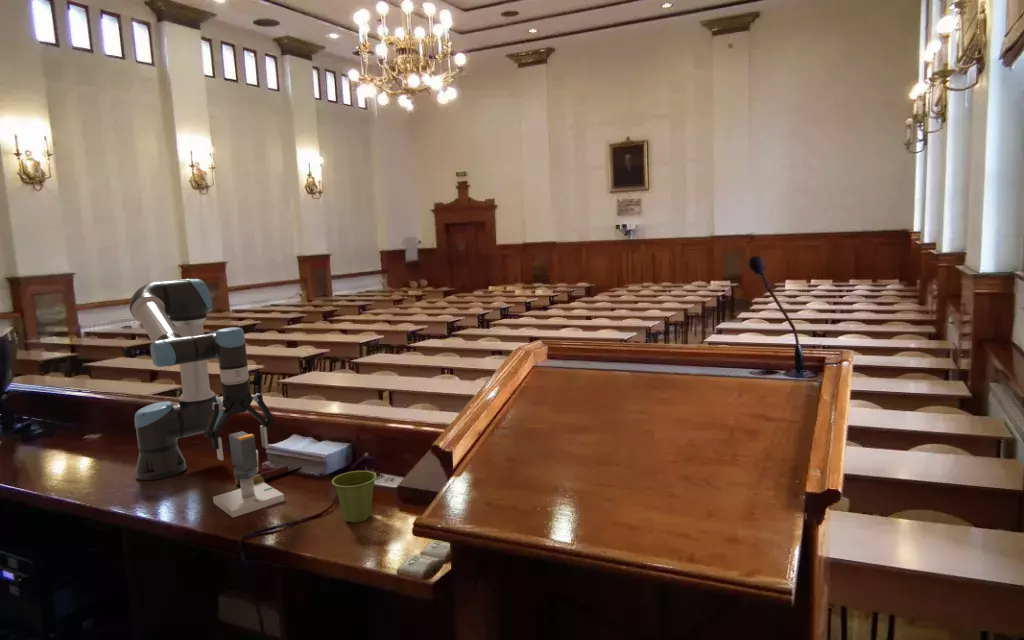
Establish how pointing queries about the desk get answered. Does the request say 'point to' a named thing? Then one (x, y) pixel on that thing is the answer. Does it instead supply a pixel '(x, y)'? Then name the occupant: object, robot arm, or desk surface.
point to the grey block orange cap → (243, 455)
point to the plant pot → (355, 494)
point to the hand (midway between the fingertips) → (243, 453)
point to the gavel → (267, 475)
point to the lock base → (248, 498)
